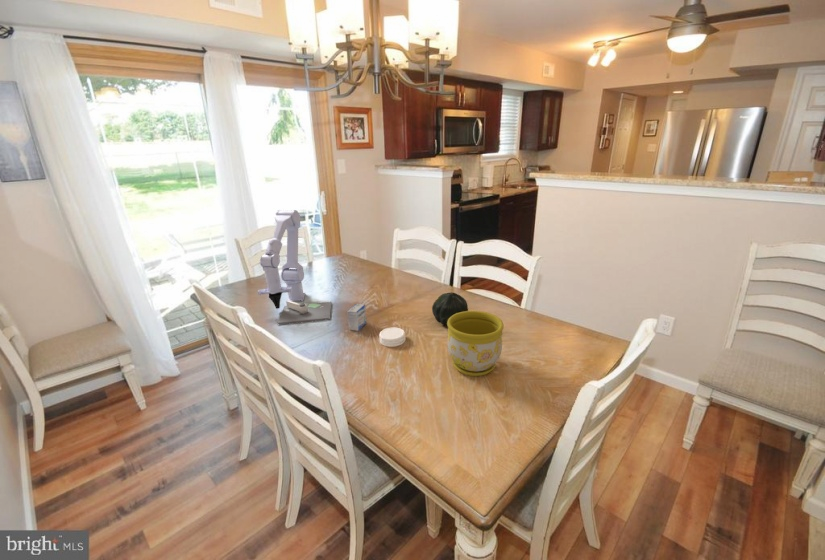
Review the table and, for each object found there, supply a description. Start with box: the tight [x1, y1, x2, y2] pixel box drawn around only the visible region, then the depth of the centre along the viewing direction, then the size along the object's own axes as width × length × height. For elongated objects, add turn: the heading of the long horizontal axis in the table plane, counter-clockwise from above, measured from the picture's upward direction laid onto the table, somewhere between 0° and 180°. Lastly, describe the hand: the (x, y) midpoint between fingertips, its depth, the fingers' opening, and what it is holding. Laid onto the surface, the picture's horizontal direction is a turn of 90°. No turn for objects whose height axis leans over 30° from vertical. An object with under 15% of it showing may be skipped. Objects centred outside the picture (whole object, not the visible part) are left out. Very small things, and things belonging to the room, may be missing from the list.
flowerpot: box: [446, 310, 505, 377], centre depth 119 cm, size 18×18×16 cm
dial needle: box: [285, 300, 308, 314], centre depth 166 cm, size 13×4×4 cm, turn 55°
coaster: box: [378, 326, 406, 348], centre depth 139 cm, size 10×10×4 cm
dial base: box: [277, 301, 332, 325], centre depth 165 cm, size 18×22×1 cm
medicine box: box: [346, 303, 367, 332], centre depth 150 cm, size 8×4×9 cm, turn 161°
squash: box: [431, 292, 469, 325], centre depth 151 cm, size 14×15×15 cm
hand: (277, 307), depth 167 cm, fingers closed
